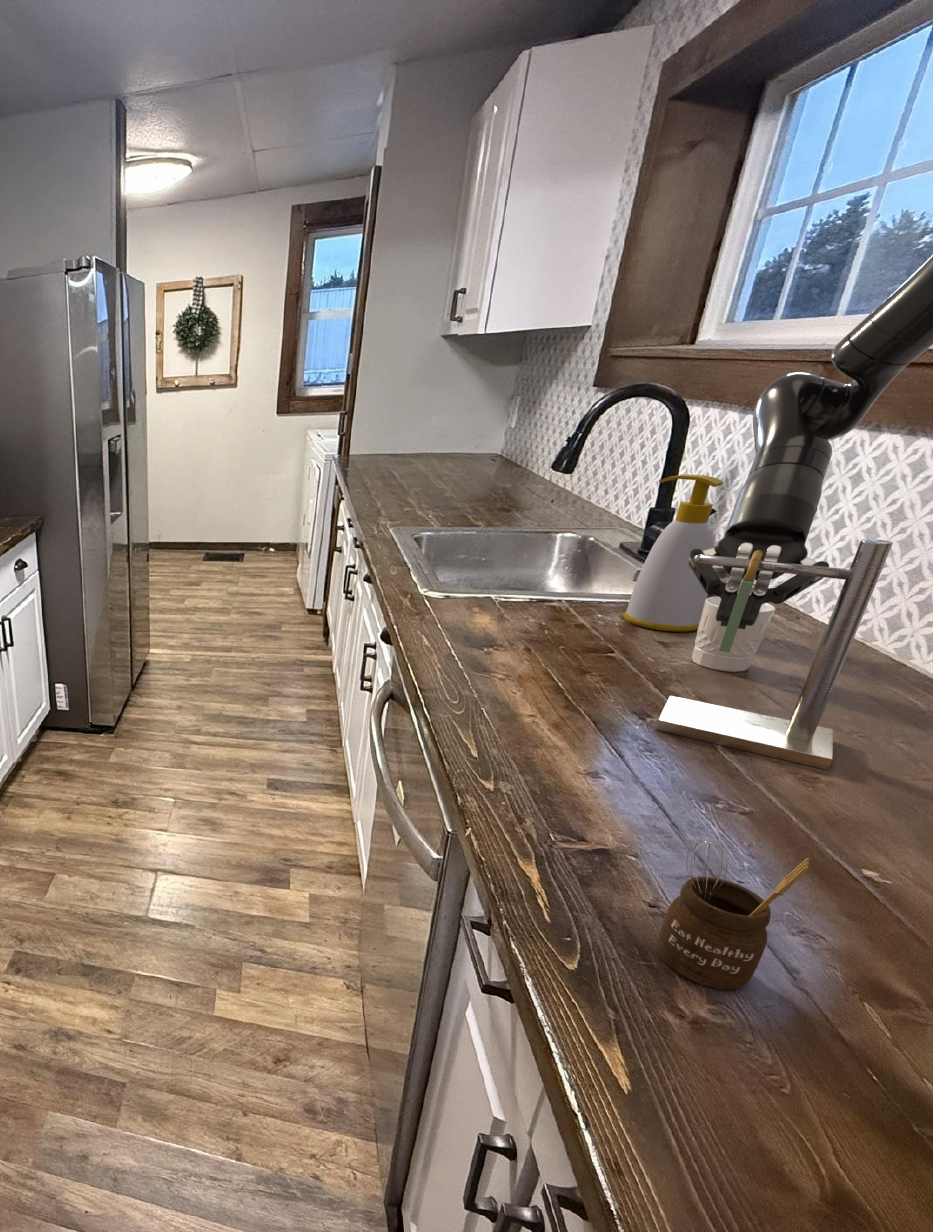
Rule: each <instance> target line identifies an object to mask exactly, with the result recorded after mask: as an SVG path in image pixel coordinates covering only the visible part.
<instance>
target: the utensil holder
mask: <svg viewBox="0 0 933 1232" xmlns="http://www.w3.org/2000/svg"><path fill="white" fill-rule="evenodd" d="M700 843H701V844H700ZM698 844H700V845H698ZM694 845H695V847H694V851H693V852H692V855H691V861H690V868H692V865H693V868H694V874H695V877H693V875H692V872H689V867H688V863H689V862H688V861H689V852H690V850H691V848H692V847H693V846H694ZM704 845H706V847H705V854H704V862H706V859H708V860H707V868H709V867H710V855H708V857H707V850H708V853H710V852H711V851H710V849H711V847H712V848H713V849H714V851H715V852H716V855H717V857H718V877H712V876H709V869H707V872H706V863H704V864H703V865H704V866H703V876H698V875H697V871H696V863H695V861H696V850H697V849H698V848H700V847H701V846H704ZM714 846H716V847H717V848H718V849H720V850H721V859H720V855H719V853H718V851H717V849H716V848H715V847H714ZM686 854H687V855H686V870H687V874H688V876H689V879H687V881H685V882H684V884H683V885H682V886H681V889H680V892H679V895H678V896H677V897H676V898H674V899H673V900H672V901H671V903H670V905H669V906H668V908H667V910H666V914H665V916H664V919H663V922H662V924H661V926H660V927H661V928H660V930H659V933H658V936H657V940H656V950H657V954H658V955H659V957H660V958H661V960H662V961H663V962H664V963H665V964H666V965H667V966H668V968H670V969H671V970H673V971H674V972H676V973H677V974H679V975H680V976H682V977H684V978H686V979H688V980H690V981H692V982H694V983H696V984H699V985H702V986H705V987H708V988H712V989H716V990H726V991H731V990H739V989H741V988H743V987H745V986H746V985H747V984H749V982H750V981H751V979H752V978H753V976H754V974H755V972H756V970H757V968H758V966H759V963H760V961H761V959H762V956H763V954H764V951H765V949H766V946H767V943H768V931H767V928H768V926H769V924H770V921H771V915H772V912H771V908H770V904H772V903H773V902H774V901H775V900H776V899H777V898H778V897H779V896H780V897H782V896H784V895H785V893H787V891H788V890H789V889H791V887H792V886H793V885H794V884H795V883H796V882H797V881H798V880H799V879H800V878H801V877H802V876H803V875H804V874H805V873H806V872H807V870H809V868H810V867H809V865H810V859H811V858H809V857H806V858H805V859H804V860H803V861H802V862H801V863H800V864H799V865H797V866H796V867H795V868H794V869H793V870H791V872H790V873H788V874H787V875H786V876H785V877H784V878H783V879H782V880H781V881H780V882H778V884H777V886H776V888H775V889H774V891H773V892H772V893H770V894H769V896H768V897H767V898H765V900H764V899H763V898H762V897H761V896H759V895H758V894H757V893H755V892H754V891H752V890H750V889H748V888H746V887H745V886H743V885H740V884H738V883H736V882H732V881H730V880H726V877H727V872H728V857H727V855H726V852H725V850H723V849H722V846H720V845H719V844H718V843H717V842H714V843H713V842H711V841H710V840H708V841H705V840H703V841H701V840H698V841H697V842H695V843H693V844H691V845H690V846H689V847H688V850H687V853H686ZM724 855H725V861H726V862H725V864H726V865H725V873H724V874H725V875H724V878H723V879H722V878H720V876H721V873H722V871H723V865H721V864H723V861H724V860H723V859H724ZM720 860H721V861H720ZM705 874H706V876H705Z"/></svg>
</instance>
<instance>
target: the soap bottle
mask: <svg viewBox="0 0 933 1232" xmlns="http://www.w3.org/2000/svg"><path fill="white" fill-rule="evenodd" d="M674 480H689V481H694V484H693V488H692V491H691V494H690V498H689V501H681V502H680V503H679V505H678V510H677V512H676V516H675V519H674V520H672V521H671V522H670V523H669V524H668V525H667V526H666V527H664V529H663V530H662V532H661V533H660V534H659V536H658V537H657V538H656V541H655V542H654V543H653V545H652V546H651V549H650V550H649V553H648V555H647V557H646V559H645V561H644V563H643V565H642V568H641V569H640V572H639V574H638V576H637V578H636V581H635V583H634V587H633V589H632V592H631V595H630V598H629V602H628V605H627V608H626V610H625V612H624V613H623V614H622V616H623V618H624V619H625V621H627V622H629V623H631V624H633V625H636V626H637V627H642V628H646V629H649V630H650V629H651V630H656V631H662V632H675V633H678V632H692V631H698V627H699V623H700V619H701V615H702V611H703V608H704V604H705V600H706V599H707V598H708V594H707V593H706V592H705V590H704V589H703V587H702V585H701V584H700V582H699V580H698V579H697V577H696V575H695V574H694V572H693V570H692V569H691V567H690V566H689V564H688V562H689V557H690V552H691V551H692V550H693V549H701V550H702V551H704V550H708V549H711V548H714V547H715V538H714V531H713V528H712V526H711V524H710V522H709V519H710V515H711V512H712V509H713V506H714V504H713V503H710V502H706V500H707V497H708V493H709V490H710V486H711V487H713V488H715V487H716V488H717V487H719V486H722V485H723V484H724V483H725V481H724V480H721V479H719V478H717V477H714V476H710V475H704V474H702V475H701V474H678V475H672V476H668V477H665V478H661V479H659V480H658V482H659V484H662V483H665V482H669V481H674ZM712 567H713V568H714V565H712Z"/></svg>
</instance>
